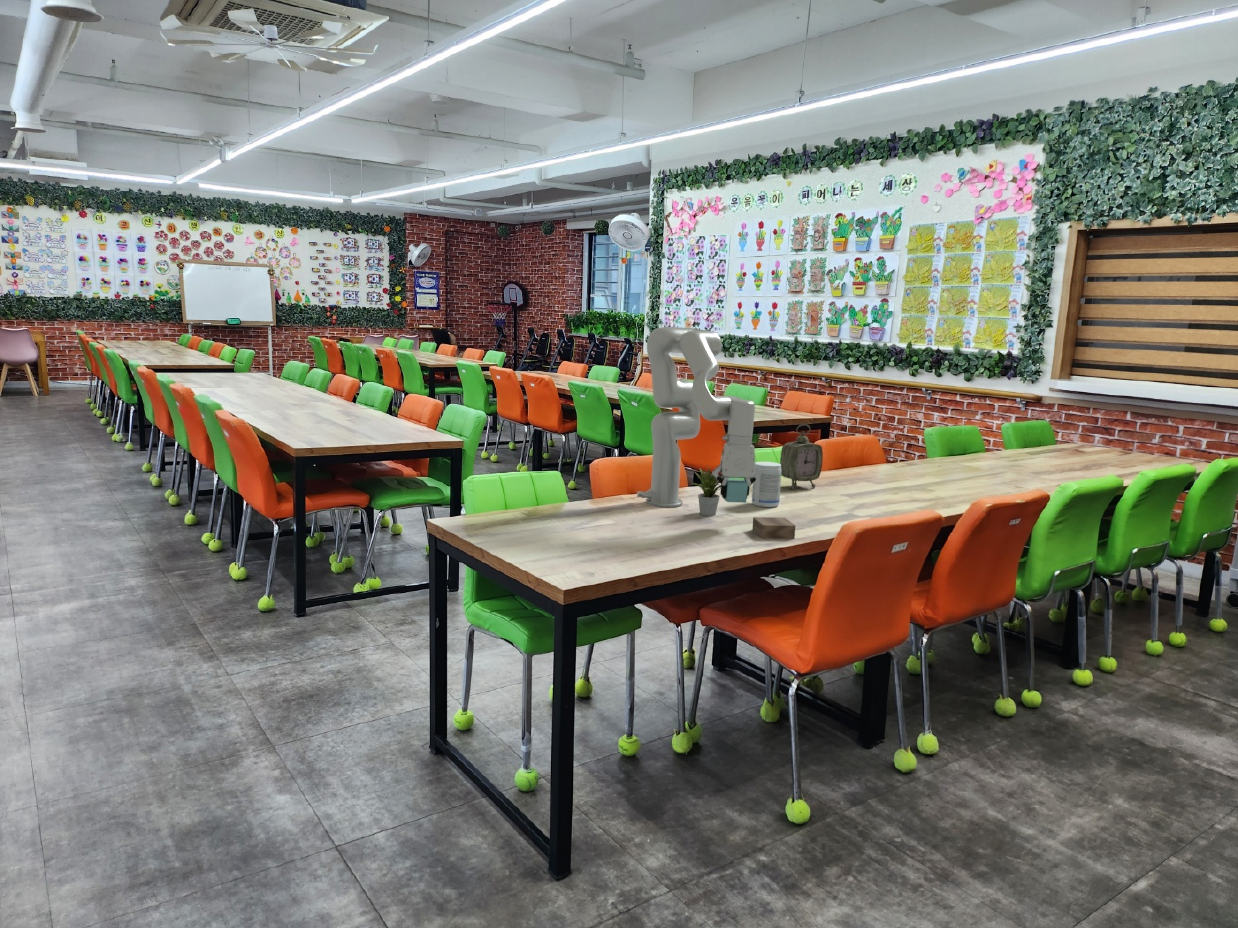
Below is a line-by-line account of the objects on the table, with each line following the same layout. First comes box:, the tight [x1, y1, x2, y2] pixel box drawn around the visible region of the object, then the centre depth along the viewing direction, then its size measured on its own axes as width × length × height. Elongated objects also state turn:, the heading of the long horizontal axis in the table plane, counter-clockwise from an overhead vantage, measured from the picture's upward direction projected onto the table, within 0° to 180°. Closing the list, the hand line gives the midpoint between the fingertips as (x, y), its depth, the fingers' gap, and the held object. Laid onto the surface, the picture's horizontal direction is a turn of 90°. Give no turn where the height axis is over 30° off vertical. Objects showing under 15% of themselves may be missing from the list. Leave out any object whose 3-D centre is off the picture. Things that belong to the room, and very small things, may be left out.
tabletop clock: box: [779, 423, 824, 490], centre depth 328 cm, size 14×9×25 cm, turn 119°
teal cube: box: [721, 478, 748, 504], centre depth 261 cm, size 6×6×6 cm
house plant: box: [690, 466, 723, 517], centre depth 276 cm, size 14×14×16 cm
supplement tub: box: [751, 461, 782, 508], centre depth 295 cm, size 10×10×15 cm
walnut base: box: [751, 516, 796, 539], centre depth 256 cm, size 10×10×4 cm
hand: (734, 496), depth 262 cm, fingers closed on teal cube, 6 cm apart
